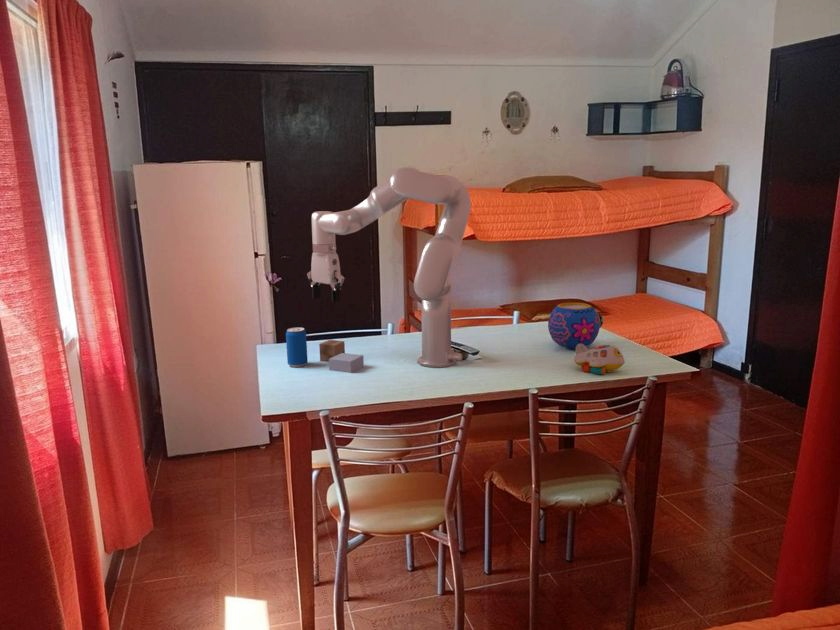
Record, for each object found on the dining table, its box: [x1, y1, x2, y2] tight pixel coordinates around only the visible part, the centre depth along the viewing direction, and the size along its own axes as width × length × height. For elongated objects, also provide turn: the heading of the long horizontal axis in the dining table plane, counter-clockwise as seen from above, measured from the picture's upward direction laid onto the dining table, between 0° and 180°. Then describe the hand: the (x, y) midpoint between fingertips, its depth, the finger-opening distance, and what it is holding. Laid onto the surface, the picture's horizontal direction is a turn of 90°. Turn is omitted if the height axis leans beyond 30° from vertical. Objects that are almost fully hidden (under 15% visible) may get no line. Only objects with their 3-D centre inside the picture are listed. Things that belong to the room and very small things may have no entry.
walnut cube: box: [318, 339, 346, 363], centre depth 225 cm, size 6×6×6 cm
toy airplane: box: [573, 344, 626, 375], centre depth 206 cm, size 13×9×15 cm
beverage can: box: [285, 326, 309, 368], centre depth 218 cm, size 6×6×12 cm
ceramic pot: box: [547, 302, 604, 350], centre depth 233 cm, size 18×18×15 cm
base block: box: [328, 352, 365, 374], centre depth 214 cm, size 8×8×4 cm
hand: (326, 300), depth 225 cm, fingers open, 9 cm apart
